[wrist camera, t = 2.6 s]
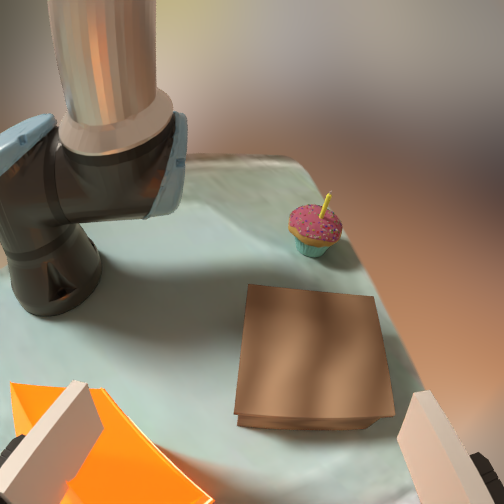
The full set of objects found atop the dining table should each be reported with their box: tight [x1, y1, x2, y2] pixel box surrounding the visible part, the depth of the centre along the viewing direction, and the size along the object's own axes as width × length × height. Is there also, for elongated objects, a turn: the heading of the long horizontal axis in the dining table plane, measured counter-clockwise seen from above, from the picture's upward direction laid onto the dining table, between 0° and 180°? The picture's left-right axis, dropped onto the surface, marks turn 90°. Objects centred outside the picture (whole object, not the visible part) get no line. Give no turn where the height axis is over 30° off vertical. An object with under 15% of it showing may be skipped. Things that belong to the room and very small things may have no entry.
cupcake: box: [288, 191, 342, 257], centre depth 46 cm, size 9×8×12 cm
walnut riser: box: [234, 284, 395, 430], centre depth 31 cm, size 15×15×6 cm
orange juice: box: [10, 381, 215, 504], centre depth 15 cm, size 8×9×20 cm
